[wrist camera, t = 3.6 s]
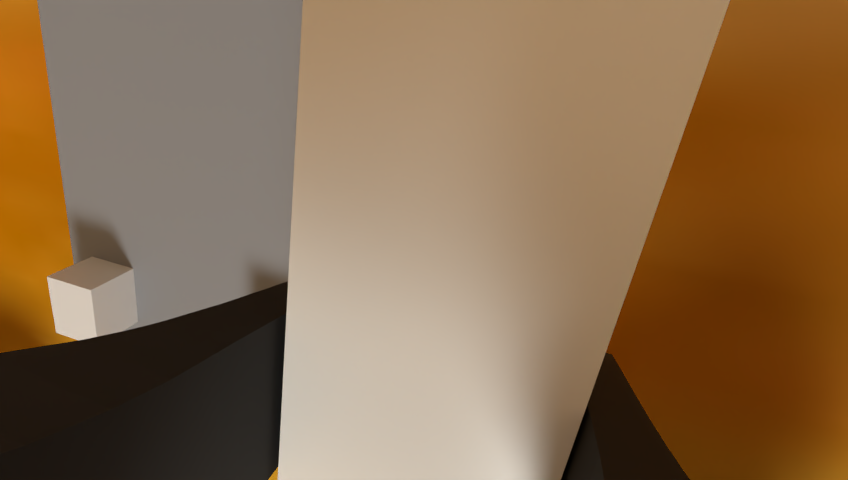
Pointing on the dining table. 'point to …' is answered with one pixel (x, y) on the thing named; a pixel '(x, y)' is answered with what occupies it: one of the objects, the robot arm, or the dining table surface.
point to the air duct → (471, 223)
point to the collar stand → (171, 154)
